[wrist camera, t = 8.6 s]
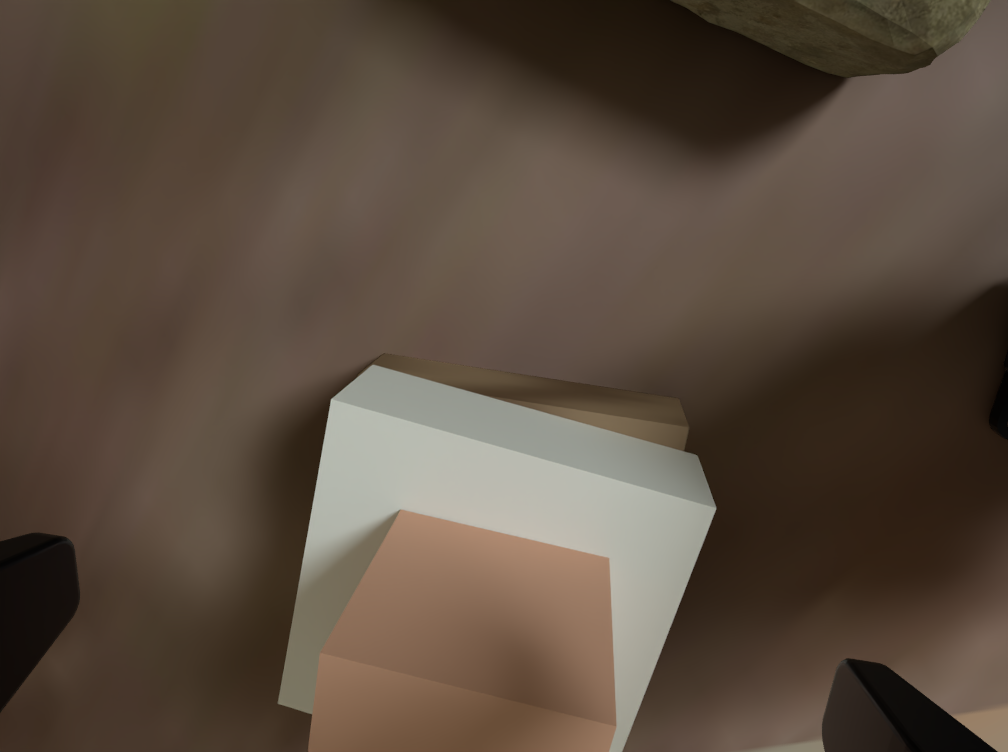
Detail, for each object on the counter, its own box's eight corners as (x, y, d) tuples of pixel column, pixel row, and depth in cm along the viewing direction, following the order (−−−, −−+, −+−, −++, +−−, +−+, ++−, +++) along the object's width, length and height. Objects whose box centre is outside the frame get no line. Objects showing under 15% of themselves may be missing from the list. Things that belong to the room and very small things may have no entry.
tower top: (697, 454, 18) (716, 508, 15) (601, 717, 21) (601, 804, 18) (373, 364, 18) (330, 399, 15) (321, 632, 21) (277, 703, 18)
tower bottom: (676, 392, 20) (689, 427, 18) (625, 639, 23) (629, 704, 20) (389, 348, 21) (357, 375, 18) (372, 592, 24) (341, 647, 21)
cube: (609, 558, 16) (616, 726, 11) (564, 724, 17) (552, 936, 12) (400, 509, 16) (319, 652, 11) (374, 677, 18) (294, 866, 13)
